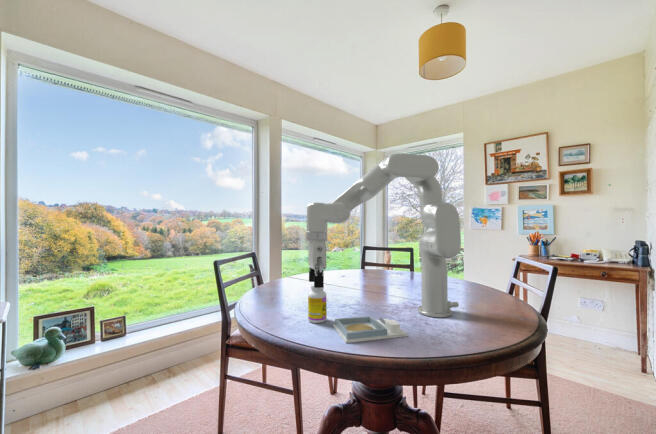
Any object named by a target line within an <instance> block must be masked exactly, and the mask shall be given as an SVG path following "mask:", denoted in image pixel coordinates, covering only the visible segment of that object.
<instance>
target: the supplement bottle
mask: <svg viewBox="0 0 656 434" xmlns="http://www.w3.org/2000/svg"><path fill="white" fill-rule="evenodd" d="M324 286H325V285H323V287H322V288H315V287H314V283H312V284H311V285H310V290H311V291H309V293H308V294H307V299H308V300H307V303H308V304H307V320H308V321H309V323H314V324H322V323H325V322H326V320H327V314H328V313H327V292H326V291H325V290H324V289H325V288H324Z"/></svg>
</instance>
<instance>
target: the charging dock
mask: <svg viewBox="0 0 656 434" xmlns="http://www.w3.org/2000/svg"><path fill="white" fill-rule="evenodd" d="M332 327H333V328H334V330H336V332H337V333H338V334H339V336H340V337H341V339H342V340H343V341H344V343H345V344H350V343H359V342H367V341H377V340H386V339H394V338H395V339H396V338H405V337H408V333H407V332H405V330H403V329H402V328H401V324H400V323H399V322H397V321H396V320H394V319H388V318H382V317H379V318H378V319H375V318H374V317H373V316H372V315H365V316H352V317H342V318H341V317H340V318H334V323H333V324H332Z"/></svg>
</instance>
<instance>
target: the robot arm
mask: <svg viewBox="0 0 656 434" xmlns="http://www.w3.org/2000/svg"><path fill="white" fill-rule="evenodd" d="M439 169H440V168H439V163H438V161H437V160H436V158H434V157H433V156H430V155H427V154H426V155H425V154H424V155H423V154H414V153H413V154H411V153H401V152H399V153H397V152H396V153H392V154H390V155H388V156H386V157H385V158H383V159H382V160H380V161H379V162H378V163H377V164H376V165H374V166H373V167H372V168H371V169H370V170H368V172H366V173H365V174H363V176H361V177H360V178H359V179H358V180H356V182H354V183H353V184H352V185H351V186H350V187H349V188H348V189H346V190H345V191H343V192H342V194H340V195H339V196H338V197H337V198H335V200H333V201H332V202H330V203H328V202H327V203H325V202H310V203H308V204H307V206H306V239H305V240H306V242H308V255H307V258H308V260H307V261H308V266H309V267H308V268H309V269H308V282H310V283H313V284H314V287H315V288H322V287H323V285H324V280H325V279H324V277H325V276H324V275H325V273H324V271H325V270H326V269H327V244H326V242H328V223H333V224H343V223H346V222H347V221H348V220H349V218H350V217H351V212H352V211H353V210H354V209H356V208H357V207H358V206H360V205H362V204H363V203H366V202H368V201H370V200H371V199H373V198H374V197H375V196H376V195H378V194H379V193H380V192H381V191H382V190H383V189H384V188H386V187H387V185H389V184H390V183H391V182H393V181H394V180H395V179H398V178H405V179H406V180H407V182H409V183H411V184H412V185H413V186H414V187H415V188H416V190H417V192H418V197H419V210H420V220H421V223H422V225H423V226H425V227H426V228H431V229H434V230H431V231H426V232H425V233H423V234H422V235H421V237H420V239H419V240H418V241H419V242H418V247H419V248H418V249H419V253H420V262H421V263H420V264H421V305H419V306H418V307H417V312H418V313H419V314H421V315H422V316H425V317H430V318H448V317H451V316H452V315H453V311H452V308H457V307H459V305H460V304H459V302H458V301H450V300H449V299H448V294H449V293H448V290H449V289H448V263H447V260H449V259H454V258H455V257H456V256H457V255H458V254H459V253H460V251H461V246H462V236H461V223H460V222H461V221H460V215H459V212H458V209H457V208H456V206H454V204H452V203H450V202H446V201H445V202H444V198H443V191H442V186H441V184H440V182H439V180H438V179H437V178H436V175H437V174H438V173H439ZM446 259H447V260H446ZM324 286H325V285H324Z"/></svg>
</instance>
